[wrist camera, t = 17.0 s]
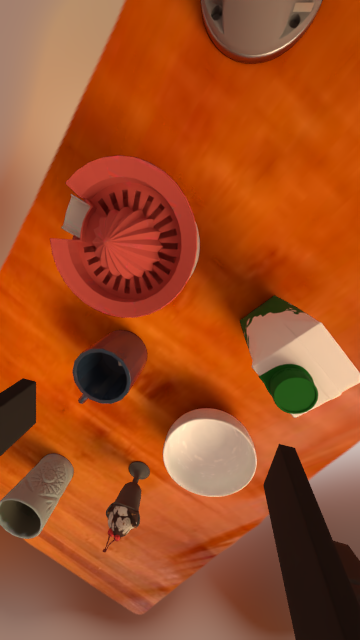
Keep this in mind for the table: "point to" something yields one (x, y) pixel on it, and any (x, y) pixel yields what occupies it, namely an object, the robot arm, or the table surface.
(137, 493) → the sundae
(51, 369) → the table surface
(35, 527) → the grey embossed cup
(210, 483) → the cereal bowl
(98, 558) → the table surface
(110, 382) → the mug
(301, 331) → the milk carton
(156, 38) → the table surface
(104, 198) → the citrus juicer
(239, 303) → the table surface
